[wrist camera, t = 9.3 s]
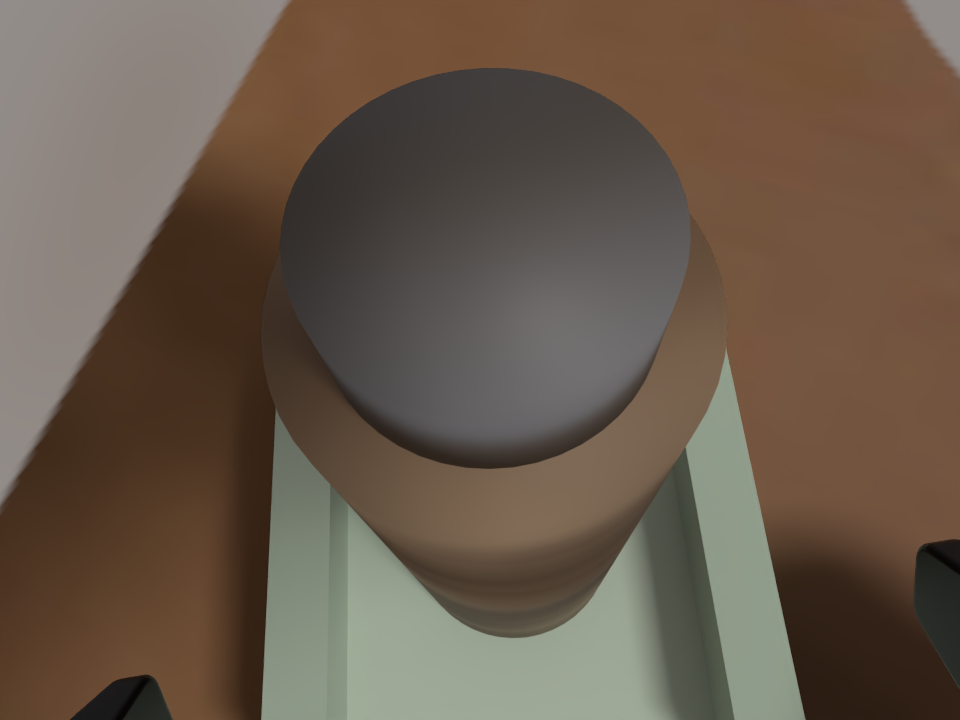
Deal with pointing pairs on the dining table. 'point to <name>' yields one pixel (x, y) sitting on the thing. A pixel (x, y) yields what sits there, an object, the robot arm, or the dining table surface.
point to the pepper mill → (494, 334)
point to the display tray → (552, 655)
